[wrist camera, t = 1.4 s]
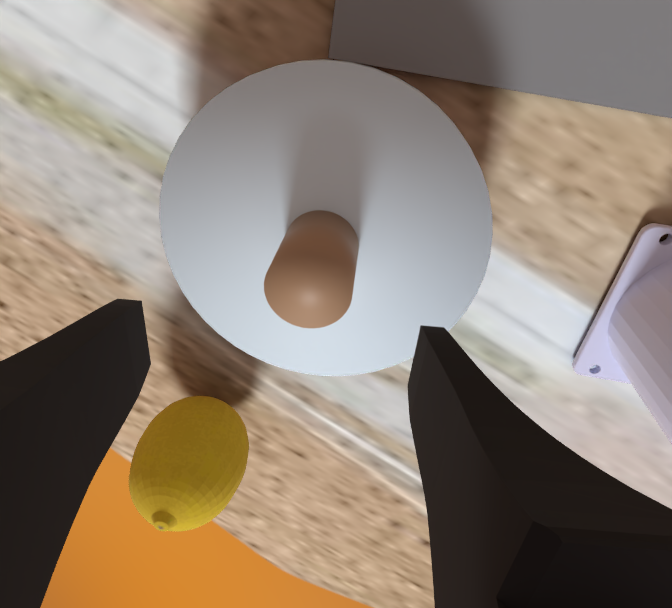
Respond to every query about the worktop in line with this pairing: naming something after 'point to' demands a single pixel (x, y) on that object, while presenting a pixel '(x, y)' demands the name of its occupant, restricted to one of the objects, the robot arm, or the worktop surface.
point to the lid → (325, 217)
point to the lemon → (188, 463)
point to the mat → (521, 45)
